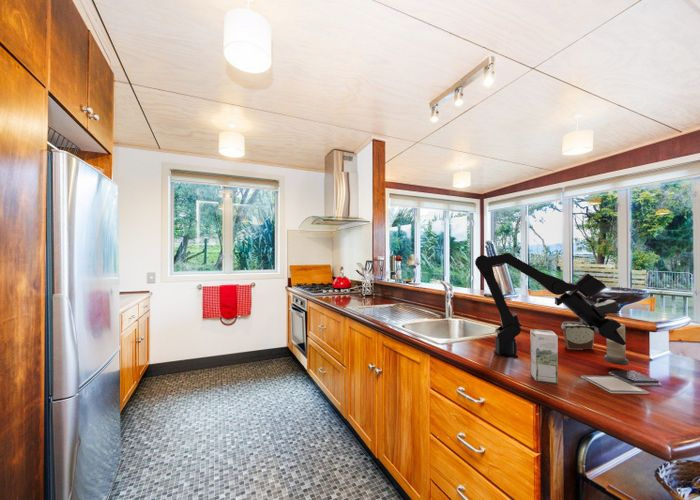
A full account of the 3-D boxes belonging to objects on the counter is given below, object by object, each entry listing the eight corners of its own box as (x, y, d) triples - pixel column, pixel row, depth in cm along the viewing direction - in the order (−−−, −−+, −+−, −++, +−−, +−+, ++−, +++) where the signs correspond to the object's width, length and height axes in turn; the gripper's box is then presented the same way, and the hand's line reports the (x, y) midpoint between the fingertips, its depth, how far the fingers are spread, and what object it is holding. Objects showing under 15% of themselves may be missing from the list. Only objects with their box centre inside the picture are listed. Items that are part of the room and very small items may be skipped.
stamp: (615, 365, 92) (614, 326, 92) (599, 358, 97) (598, 321, 98) (634, 365, 91) (633, 326, 92) (616, 358, 97) (616, 322, 98)
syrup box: (551, 376, 88) (550, 329, 88) (558, 384, 82) (557, 334, 83) (530, 374, 90) (529, 328, 90) (535, 381, 84) (535, 332, 84)
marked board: (611, 393, 77) (611, 391, 77) (581, 377, 87) (581, 375, 87) (649, 393, 77) (648, 391, 77) (614, 377, 87) (614, 376, 87)
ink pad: (633, 385, 82) (633, 381, 82) (608, 373, 90) (608, 370, 90) (661, 385, 82) (661, 381, 82) (634, 374, 90) (634, 370, 90)
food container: (585, 345, 120) (585, 321, 120) (596, 349, 114) (596, 325, 114) (554, 344, 121) (554, 320, 121) (564, 348, 115) (563, 324, 115)
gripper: (612, 294, 88) (660, 334, 83) (590, 288, 105) (629, 321, 100) (581, 317, 91) (626, 357, 86) (564, 308, 108) (601, 340, 103)
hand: (621, 342), depth 94 cm, fingers closed on stamp, 5 cm apart
